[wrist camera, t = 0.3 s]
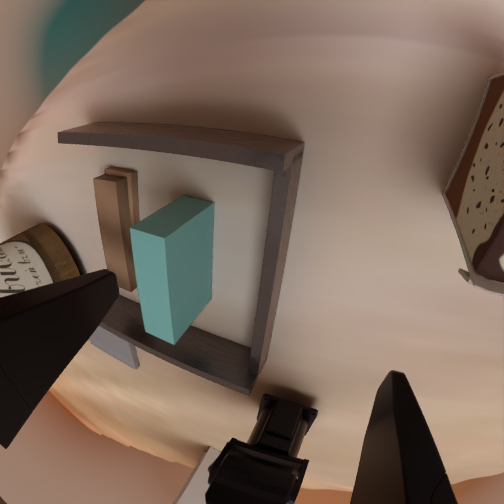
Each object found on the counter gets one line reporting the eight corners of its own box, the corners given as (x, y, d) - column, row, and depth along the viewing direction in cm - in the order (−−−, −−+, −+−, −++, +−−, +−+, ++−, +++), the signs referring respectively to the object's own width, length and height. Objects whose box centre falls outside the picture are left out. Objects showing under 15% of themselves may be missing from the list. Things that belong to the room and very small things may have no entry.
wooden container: (100, 300, 35) (-28, 399, 18) (72, 319, 44) (-20, 392, 27) (45, 204, 33) (-89, 278, 16) (30, 245, 42) (-67, 306, 24)
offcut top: (139, 284, 32) (131, 292, 30) (118, 276, 33) (110, 283, 31) (127, 177, 26) (115, 182, 24) (104, 174, 27) (93, 178, 25)
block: (212, 298, 30) (174, 344, 24) (185, 288, 31) (145, 331, 25) (215, 202, 25) (164, 238, 19) (183, 195, 25) (129, 227, 20)
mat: (139, 365, 43) (136, 369, 42) (94, 340, 45) (91, 343, 45) (125, 308, 37) (120, 313, 36) (77, 283, 39) (72, 287, 38)
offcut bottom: (149, 282, 33) (141, 289, 32) (126, 272, 34) (118, 278, 33) (141, 169, 26) (131, 173, 25) (115, 164, 27) (104, 168, 26)
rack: (266, 359, 31) (249, 395, 27) (118, 300, 36) (93, 322, 32) (304, 142, 20) (285, 154, 16) (97, 122, 25) (57, 132, 21)
